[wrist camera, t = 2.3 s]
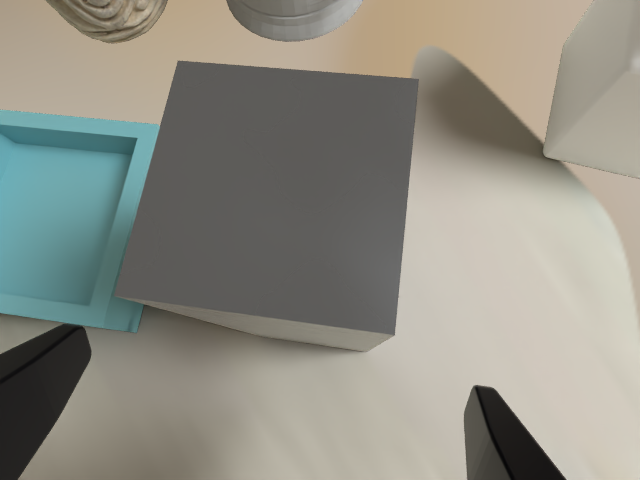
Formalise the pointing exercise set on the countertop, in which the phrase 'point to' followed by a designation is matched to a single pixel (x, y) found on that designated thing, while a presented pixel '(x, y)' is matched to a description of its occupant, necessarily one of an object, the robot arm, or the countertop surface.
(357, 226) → the tall grey square pillar
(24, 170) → the teal tray
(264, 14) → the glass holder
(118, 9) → the carving
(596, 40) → the medicine bottle
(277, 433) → the countertop surface
